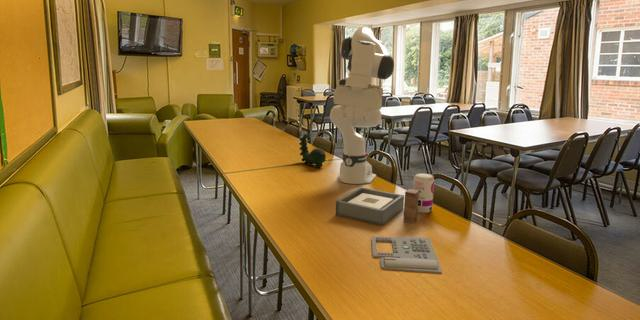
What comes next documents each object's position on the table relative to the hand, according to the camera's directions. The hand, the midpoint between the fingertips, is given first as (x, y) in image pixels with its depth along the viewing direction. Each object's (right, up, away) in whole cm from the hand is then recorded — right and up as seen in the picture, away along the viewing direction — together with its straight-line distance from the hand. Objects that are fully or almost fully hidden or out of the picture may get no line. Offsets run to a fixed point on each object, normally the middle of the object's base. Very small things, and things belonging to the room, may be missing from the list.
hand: (354, 118), depth 160 cm
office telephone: (+13, -47, -29) cm, 57 cm away
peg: (+21, -40, -2) cm, 45 cm away
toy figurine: (-18, -20, +81) cm, 86 cm away
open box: (+7, -38, +6) cm, 39 cm away
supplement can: (+29, -37, +9) cm, 48 cm away
